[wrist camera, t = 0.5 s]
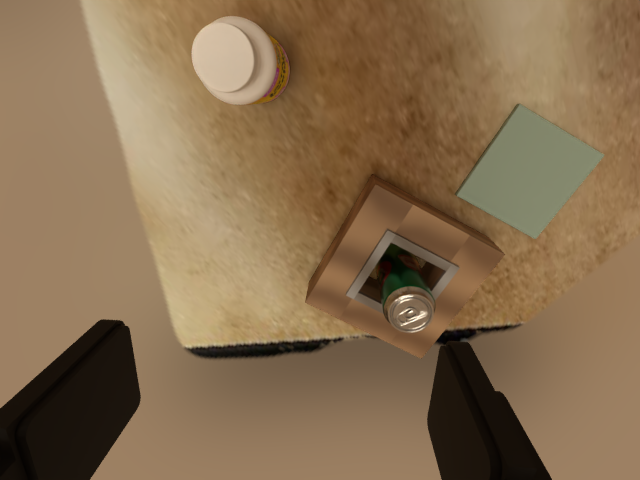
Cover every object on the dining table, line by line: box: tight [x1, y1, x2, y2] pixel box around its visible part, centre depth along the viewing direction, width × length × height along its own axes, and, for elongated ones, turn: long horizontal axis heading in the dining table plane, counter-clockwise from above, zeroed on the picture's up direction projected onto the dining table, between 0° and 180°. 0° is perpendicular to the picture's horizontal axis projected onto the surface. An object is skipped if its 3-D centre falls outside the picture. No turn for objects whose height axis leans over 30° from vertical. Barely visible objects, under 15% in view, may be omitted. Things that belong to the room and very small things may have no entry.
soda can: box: [375, 244, 436, 333], centre depth 40 cm, size 5×5×12 cm
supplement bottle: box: [192, 16, 290, 105], centre depth 33 cm, size 7×7×13 cm
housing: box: [305, 174, 505, 358], centre depth 43 cm, size 16×16×6 cm
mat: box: [455, 104, 604, 239], centre depth 41 cm, size 11×11×1 cm
